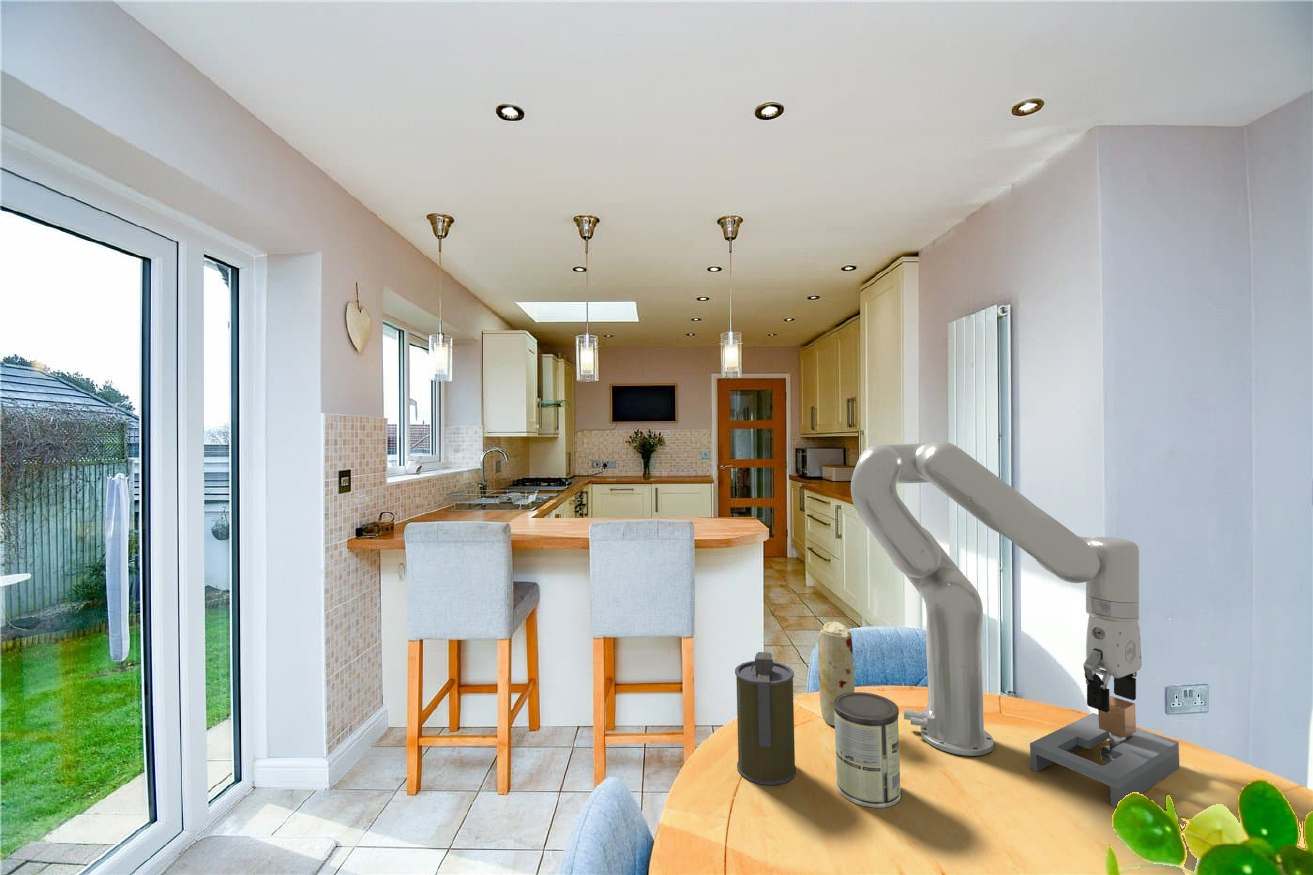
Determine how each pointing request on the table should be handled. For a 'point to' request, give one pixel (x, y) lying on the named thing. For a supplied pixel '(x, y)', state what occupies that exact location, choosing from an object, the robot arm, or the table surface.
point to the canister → (765, 721)
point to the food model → (834, 666)
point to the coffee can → (867, 749)
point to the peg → (1117, 724)
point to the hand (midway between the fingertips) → (1111, 702)
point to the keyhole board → (1133, 759)
